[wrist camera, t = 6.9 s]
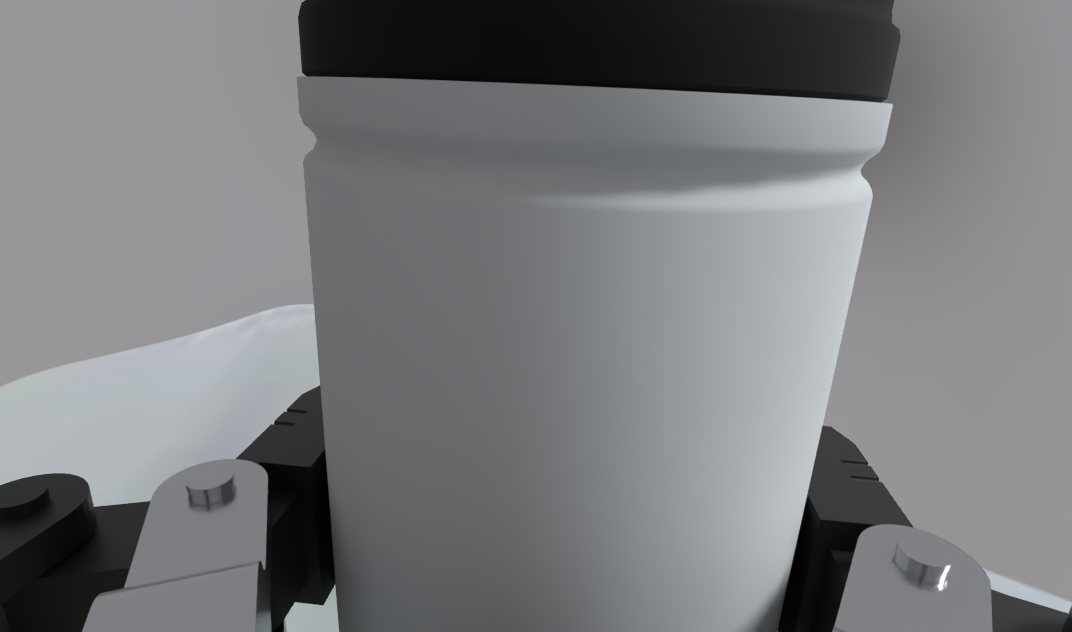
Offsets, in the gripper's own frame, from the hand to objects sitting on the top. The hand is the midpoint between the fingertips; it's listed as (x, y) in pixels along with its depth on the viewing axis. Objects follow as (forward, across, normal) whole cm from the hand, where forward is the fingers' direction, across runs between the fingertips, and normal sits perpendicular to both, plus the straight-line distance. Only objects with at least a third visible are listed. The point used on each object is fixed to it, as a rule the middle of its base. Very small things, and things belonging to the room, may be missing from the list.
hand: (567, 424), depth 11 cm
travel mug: (-2, 0, +11) cm, 11 cm away
